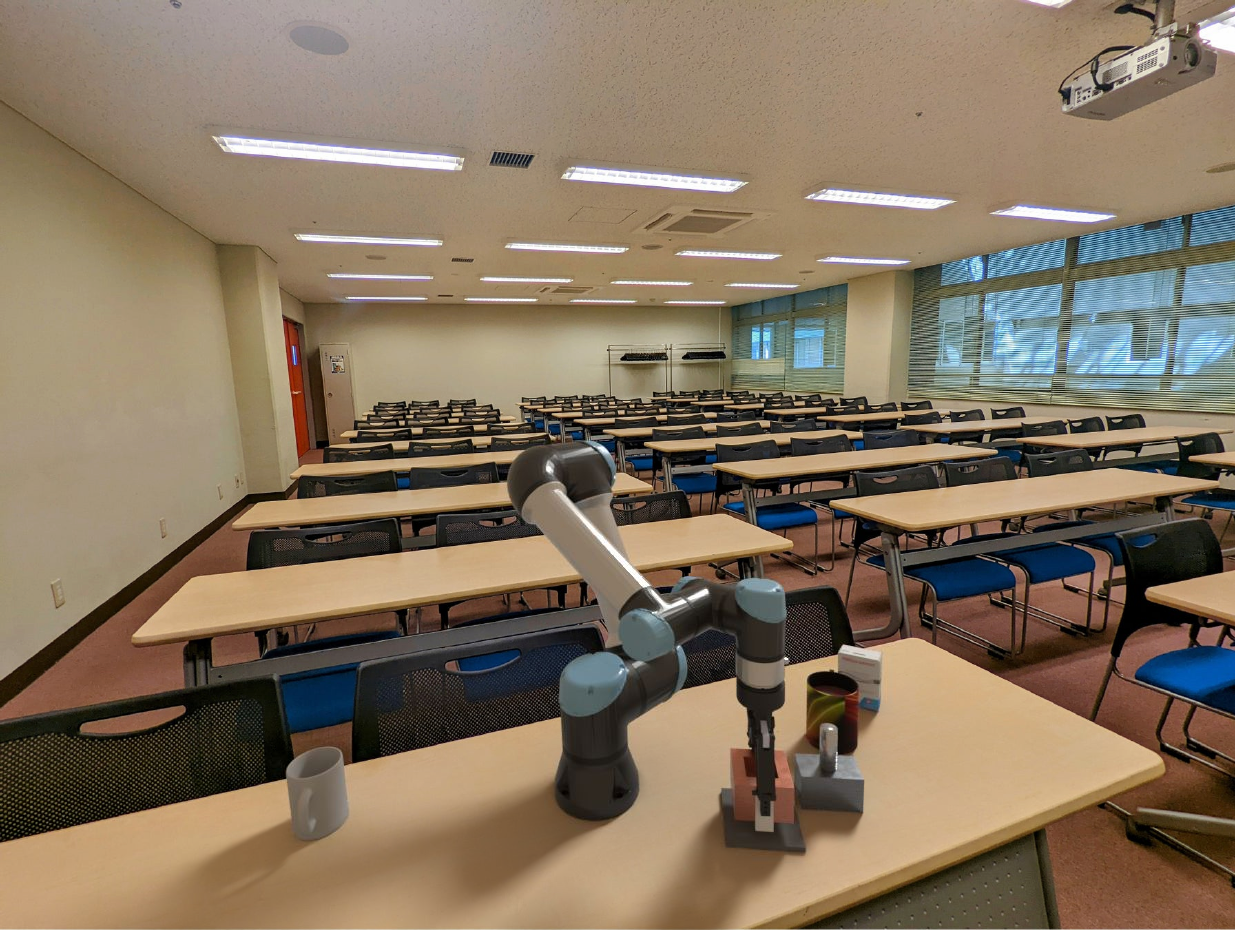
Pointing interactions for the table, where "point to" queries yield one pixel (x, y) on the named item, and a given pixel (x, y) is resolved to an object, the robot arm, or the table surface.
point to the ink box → (863, 673)
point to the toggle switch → (828, 777)
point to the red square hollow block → (746, 782)
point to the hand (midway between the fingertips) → (760, 806)
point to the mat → (748, 837)
